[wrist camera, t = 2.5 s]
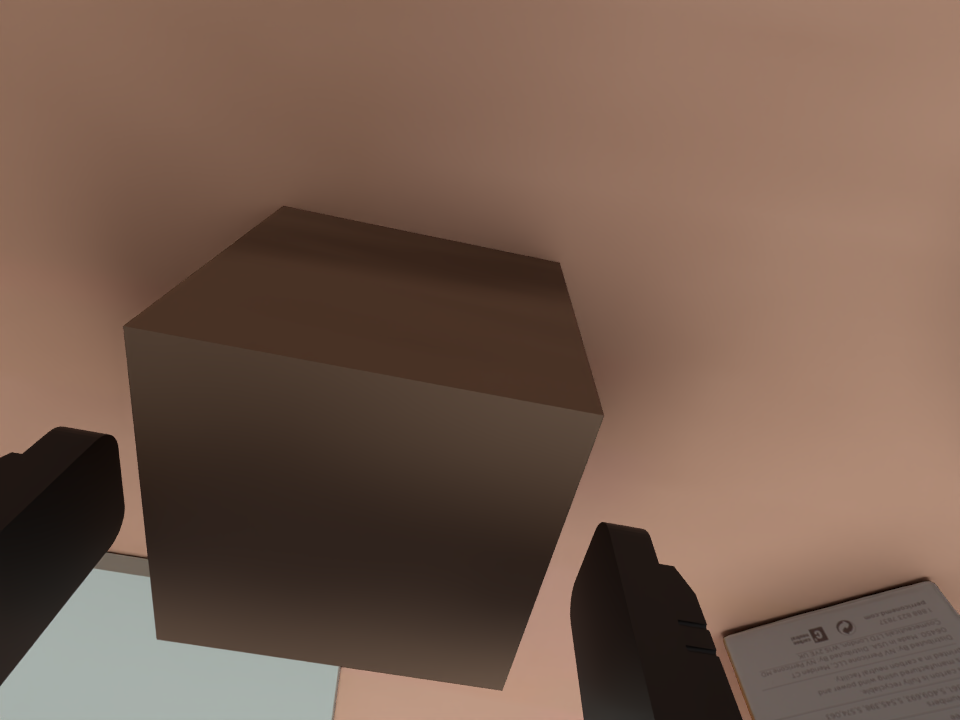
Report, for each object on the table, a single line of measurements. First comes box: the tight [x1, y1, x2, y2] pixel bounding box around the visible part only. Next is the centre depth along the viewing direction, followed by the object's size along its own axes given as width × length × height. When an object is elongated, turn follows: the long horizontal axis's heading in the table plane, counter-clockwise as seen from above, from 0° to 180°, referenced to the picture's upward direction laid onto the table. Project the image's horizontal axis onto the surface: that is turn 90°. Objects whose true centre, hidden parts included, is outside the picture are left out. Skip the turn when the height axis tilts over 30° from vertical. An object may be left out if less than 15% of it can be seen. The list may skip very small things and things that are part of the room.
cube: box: [123, 206, 604, 691], centre depth 11 cm, size 6×6×6 cm
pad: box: [0, 553, 341, 720], centre depth 20 cm, size 13×13×1 cm
